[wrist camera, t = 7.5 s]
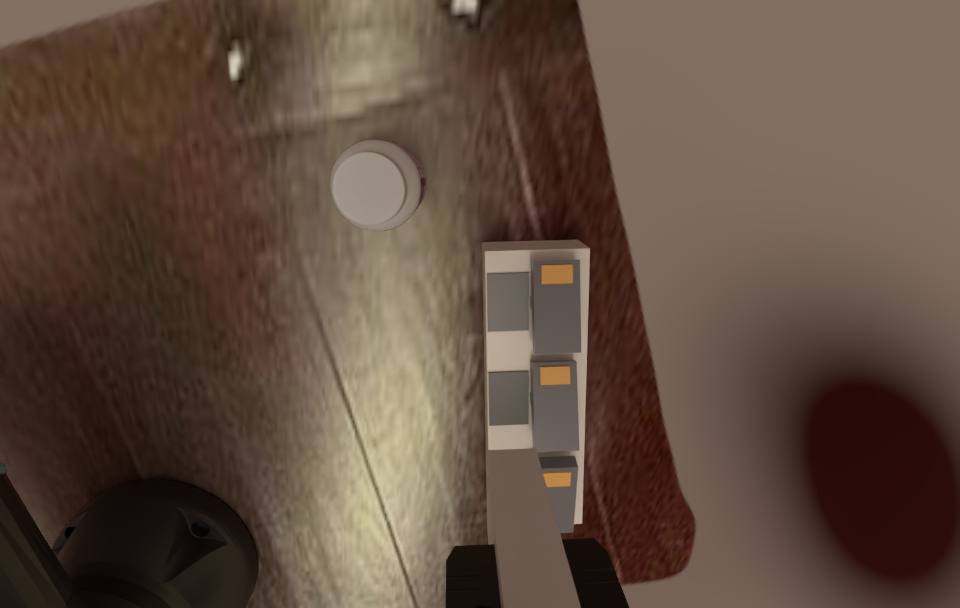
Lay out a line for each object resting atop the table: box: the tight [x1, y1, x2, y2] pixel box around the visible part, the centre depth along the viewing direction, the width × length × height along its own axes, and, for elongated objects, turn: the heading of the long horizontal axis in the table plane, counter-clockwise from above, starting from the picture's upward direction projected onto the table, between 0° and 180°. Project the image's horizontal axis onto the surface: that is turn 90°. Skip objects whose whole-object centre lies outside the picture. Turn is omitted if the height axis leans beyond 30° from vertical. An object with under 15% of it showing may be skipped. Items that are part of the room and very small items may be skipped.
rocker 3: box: [538, 456, 578, 533], centre depth 41 cm, size 3×6×1 cm, turn 1°
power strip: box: [482, 240, 590, 524], centre depth 43 cm, size 7×21×5 cm, turn 1°
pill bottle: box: [330, 139, 426, 231], centre depth 36 cm, size 5×5×10 cm
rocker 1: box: [531, 260, 581, 354], centre depth 38 cm, size 3×6×1 cm, turn 1°
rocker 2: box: [530, 360, 579, 452], centre depth 40 cm, size 3×6×1 cm, turn 1°
